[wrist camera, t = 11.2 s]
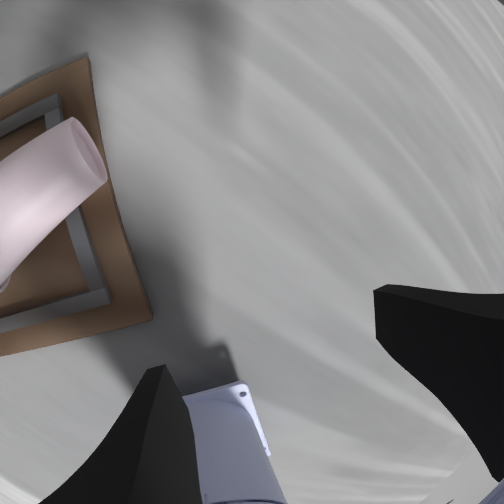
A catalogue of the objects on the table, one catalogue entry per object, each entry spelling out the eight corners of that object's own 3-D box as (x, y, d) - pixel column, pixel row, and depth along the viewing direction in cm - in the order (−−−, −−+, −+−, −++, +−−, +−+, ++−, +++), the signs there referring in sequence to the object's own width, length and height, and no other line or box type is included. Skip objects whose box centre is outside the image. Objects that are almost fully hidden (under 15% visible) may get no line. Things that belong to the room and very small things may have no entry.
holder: (152, 314, 18) (151, 324, 17) (-20, 356, 16) (-27, 364, 14) (90, 61, 14) (84, 53, 12) (-77, 160, 11) (-87, 161, 9)
